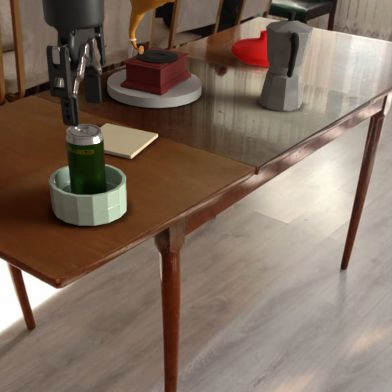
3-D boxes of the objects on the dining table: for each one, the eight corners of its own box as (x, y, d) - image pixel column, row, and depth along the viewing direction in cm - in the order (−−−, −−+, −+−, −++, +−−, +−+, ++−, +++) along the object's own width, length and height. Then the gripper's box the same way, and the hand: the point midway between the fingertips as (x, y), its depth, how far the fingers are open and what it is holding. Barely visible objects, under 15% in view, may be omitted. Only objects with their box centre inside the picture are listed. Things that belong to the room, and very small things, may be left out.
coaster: (131, 159, 110) (130, 155, 110) (76, 146, 113) (76, 143, 113) (157, 136, 118) (157, 133, 118) (106, 126, 121) (106, 123, 121)
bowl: (85, 235, 91) (82, 204, 87) (38, 208, 96) (34, 177, 93) (141, 209, 97) (141, 179, 94) (94, 185, 102) (92, 156, 99)
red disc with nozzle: (297, 57, 159) (301, 26, 155) (289, 76, 148) (293, 44, 143) (237, 50, 162) (239, 20, 157) (224, 68, 150) (226, 36, 146)
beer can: (111, 212, 95) (107, 136, 87) (76, 217, 94) (68, 140, 86) (103, 196, 99) (98, 121, 91) (69, 201, 97) (61, 125, 90)
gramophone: (89, 95, 133) (78, -41, 117) (137, 69, 147) (134, -56, 131) (174, 114, 127) (176, -27, 110) (216, 85, 141) (224, -44, 124)
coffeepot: (255, 92, 138) (264, 1, 127) (297, 93, 139) (310, 3, 127) (263, 118, 127) (273, 21, 115) (309, 120, 127) (324, 23, 116)
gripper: (64, -34, 82) (76, 93, 93) (16, -9, 72) (36, 130, 82) (118, -29, 81) (124, 98, 92) (79, -4, 70) (91, 136, 81)
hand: (83, 113), depth 87 cm, fingers open, 8 cm apart
